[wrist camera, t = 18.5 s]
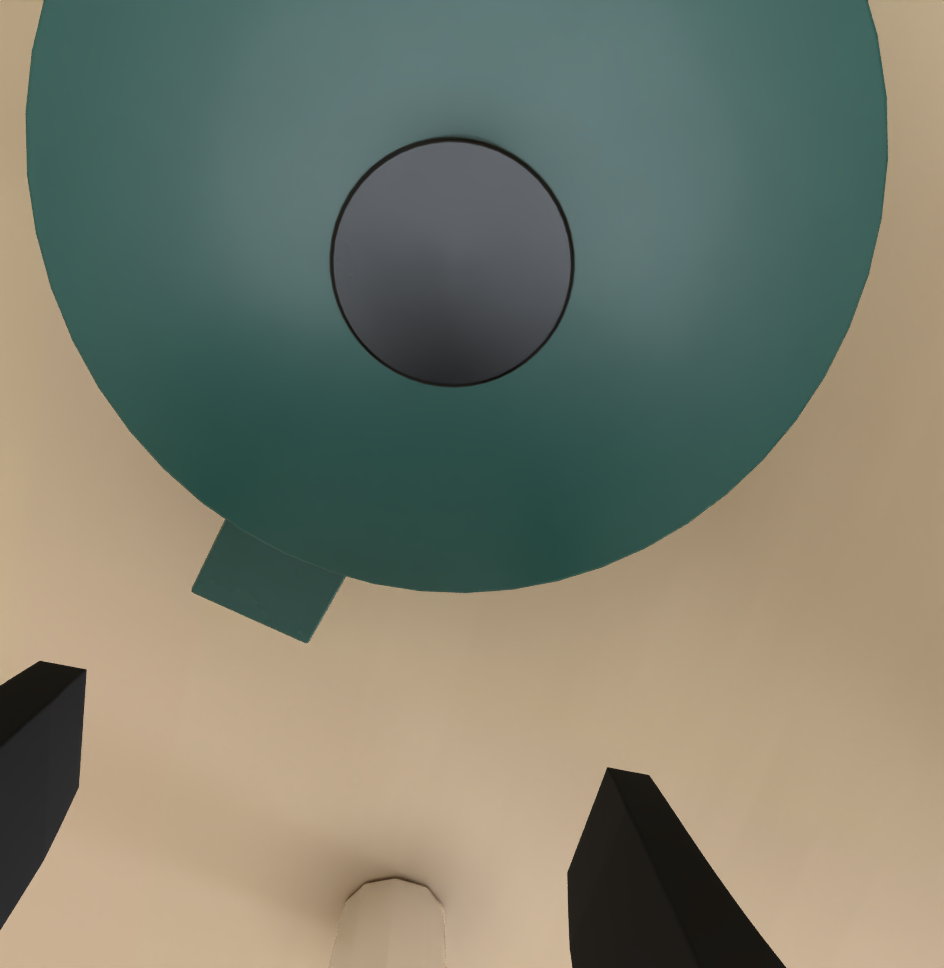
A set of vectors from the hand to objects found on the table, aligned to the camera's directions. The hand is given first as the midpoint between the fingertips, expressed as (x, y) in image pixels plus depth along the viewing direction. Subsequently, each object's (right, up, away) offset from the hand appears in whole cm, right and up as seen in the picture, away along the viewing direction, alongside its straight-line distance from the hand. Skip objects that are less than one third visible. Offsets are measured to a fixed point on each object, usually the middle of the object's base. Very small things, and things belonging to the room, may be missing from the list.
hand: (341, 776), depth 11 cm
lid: (+2, +8, +1) cm, 8 cm away
